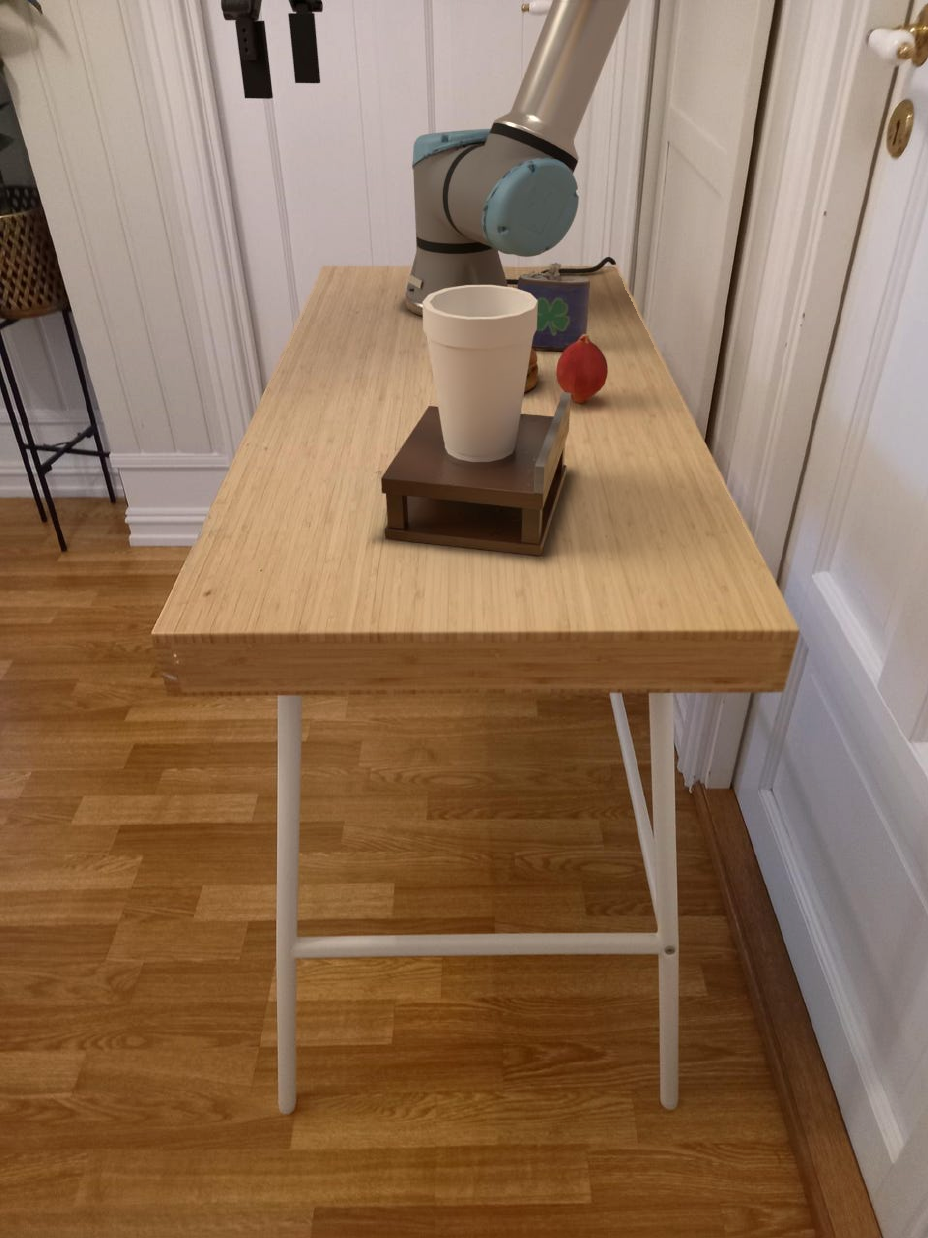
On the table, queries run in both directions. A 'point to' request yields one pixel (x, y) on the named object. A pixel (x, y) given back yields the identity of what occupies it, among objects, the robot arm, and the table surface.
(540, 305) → the flask
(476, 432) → the foam cup
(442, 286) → the robot arm
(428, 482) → the shelf
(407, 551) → the table surface
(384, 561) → the table surface
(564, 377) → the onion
